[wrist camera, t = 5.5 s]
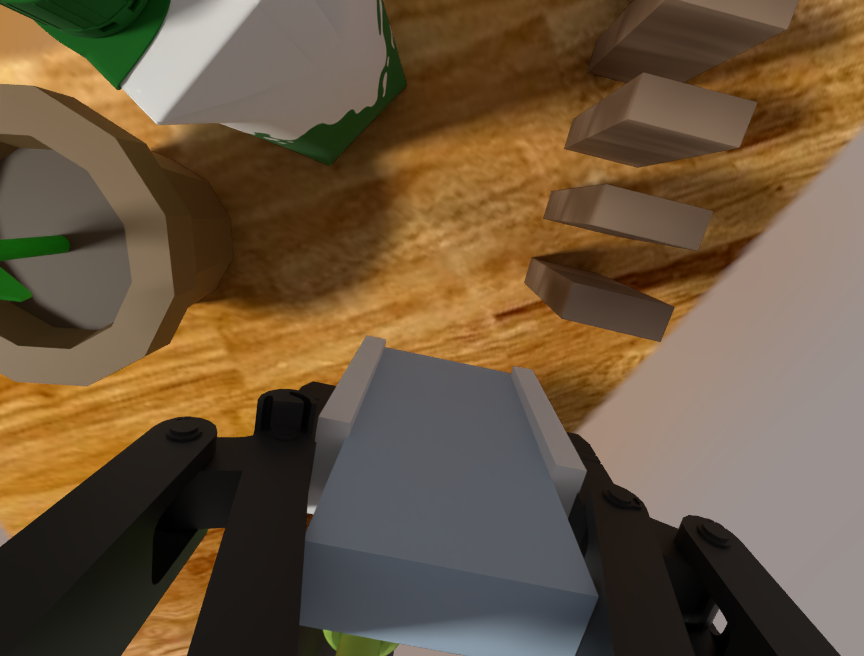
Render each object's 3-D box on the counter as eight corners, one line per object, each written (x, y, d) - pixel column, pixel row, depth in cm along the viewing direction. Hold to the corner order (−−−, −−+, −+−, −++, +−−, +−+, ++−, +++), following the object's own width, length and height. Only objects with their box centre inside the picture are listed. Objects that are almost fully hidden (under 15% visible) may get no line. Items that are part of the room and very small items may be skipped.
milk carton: (231, 79, 27) (-280, -222, 8) (329, -37, 25) (-29, -795, 6) (330, 187, 29) (105, 150, 10) (429, 84, 27) (396, -214, 8)
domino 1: (497, 413, 17) (567, 674, 8) (375, 388, 17) (289, 623, 7) (509, 373, 17) (598, 596, 7) (383, 347, 17) (303, 540, 7)
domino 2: (664, 92, 27) (786, 29, 17) (586, 72, 27) (668, -3, 17) (674, 60, 26) (808, -23, 17) (596, 40, 26) (685, -57, 16)
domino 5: (592, 298, 30) (660, 342, 21) (524, 282, 30) (561, 318, 21) (600, 274, 30) (674, 306, 20) (531, 257, 30) (573, 282, 20)
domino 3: (637, 167, 28) (739, 147, 18) (564, 148, 28) (627, 119, 18) (647, 138, 28) (757, 102, 18) (572, 119, 27) (643, 72, 18)
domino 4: (613, 236, 29) (697, 250, 20) (543, 218, 29) (592, 225, 19) (623, 209, 29) (713, 211, 19) (551, 191, 29) (606, 184, 19)
